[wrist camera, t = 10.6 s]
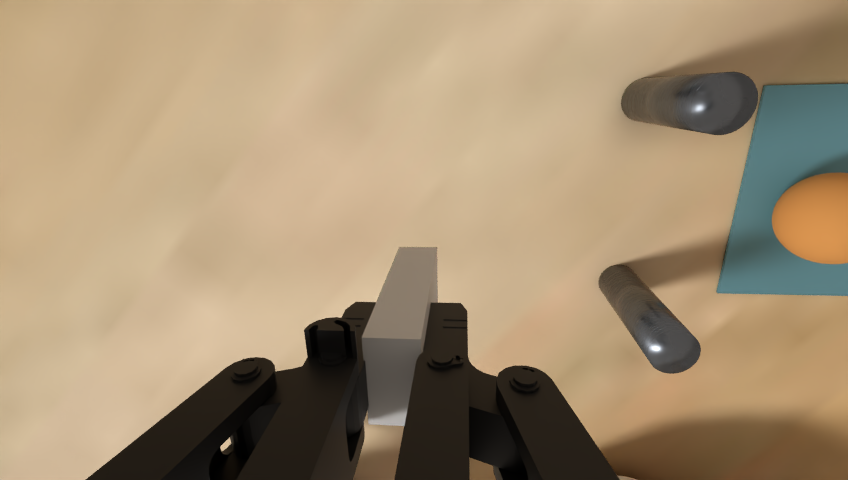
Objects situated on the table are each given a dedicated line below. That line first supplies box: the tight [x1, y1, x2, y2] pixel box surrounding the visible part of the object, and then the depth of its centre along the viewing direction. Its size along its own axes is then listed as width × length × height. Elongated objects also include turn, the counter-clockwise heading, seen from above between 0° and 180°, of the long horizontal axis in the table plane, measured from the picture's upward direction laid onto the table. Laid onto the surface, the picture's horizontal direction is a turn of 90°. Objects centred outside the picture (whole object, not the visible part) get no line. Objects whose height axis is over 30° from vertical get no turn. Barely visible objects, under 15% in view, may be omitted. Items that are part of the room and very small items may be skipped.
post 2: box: [599, 265, 701, 373], centre depth 27 cm, size 3×3×9 cm
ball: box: [772, 172, 848, 264], centre depth 26 cm, size 6×6×6 cm
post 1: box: [621, 72, 758, 135], centre depth 23 cm, size 3×3×9 cm
